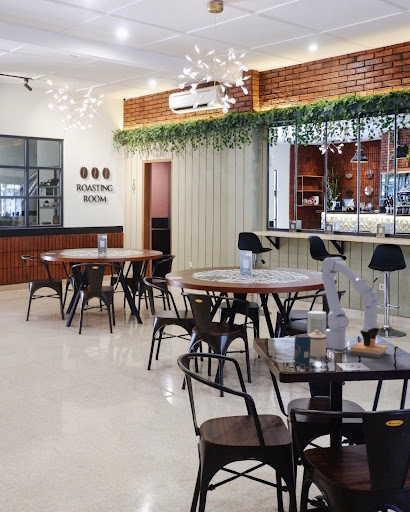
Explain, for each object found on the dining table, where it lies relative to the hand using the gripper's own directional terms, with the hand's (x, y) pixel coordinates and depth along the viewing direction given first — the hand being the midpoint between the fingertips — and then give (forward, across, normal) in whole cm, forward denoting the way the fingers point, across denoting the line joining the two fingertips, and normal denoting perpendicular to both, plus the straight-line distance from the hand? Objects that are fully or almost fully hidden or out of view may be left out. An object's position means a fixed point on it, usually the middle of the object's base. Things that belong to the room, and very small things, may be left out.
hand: (369, 344), depth 298 cm
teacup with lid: (+5, -17, +21) cm, 27 cm away
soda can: (+5, -34, +19) cm, 39 cm away
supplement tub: (+5, +14, +32) cm, 35 cm away
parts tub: (+4, 0, 0) cm, 4 cm away
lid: (+2, 0, 0) cm, 2 cm away
